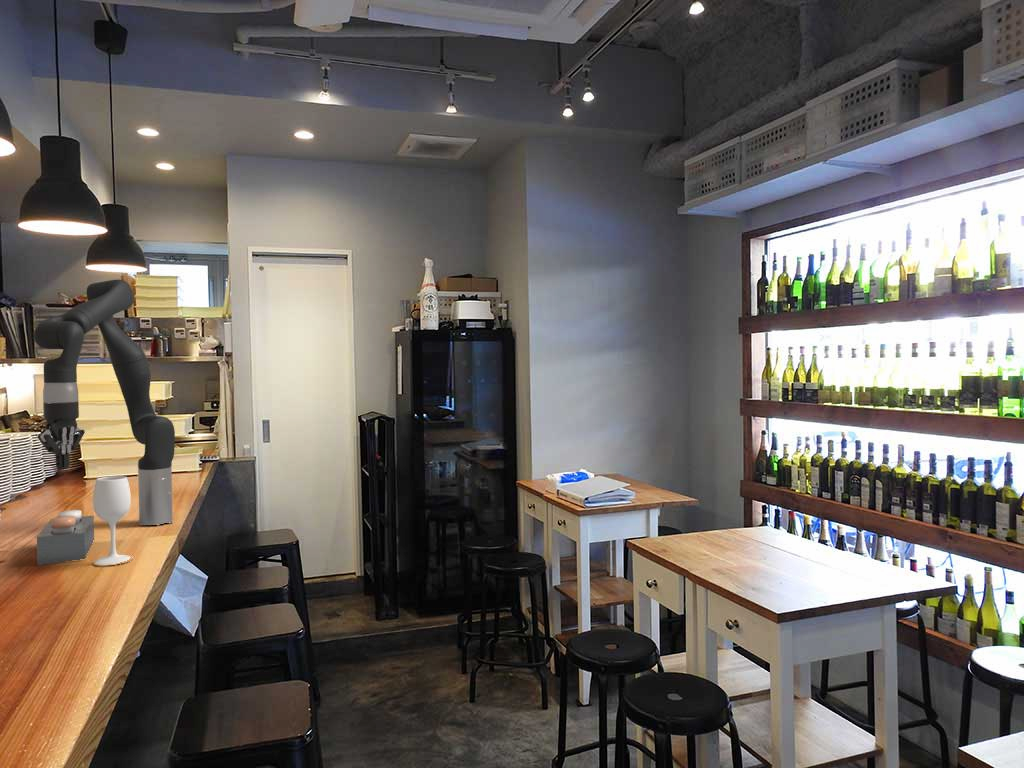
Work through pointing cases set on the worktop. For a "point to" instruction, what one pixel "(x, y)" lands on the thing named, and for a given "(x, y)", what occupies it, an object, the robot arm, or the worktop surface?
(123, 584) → the worktop surface
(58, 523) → the plunger
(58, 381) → the robot arm
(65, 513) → the white ball knob
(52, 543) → the plunger panel
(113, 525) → the wineglass
